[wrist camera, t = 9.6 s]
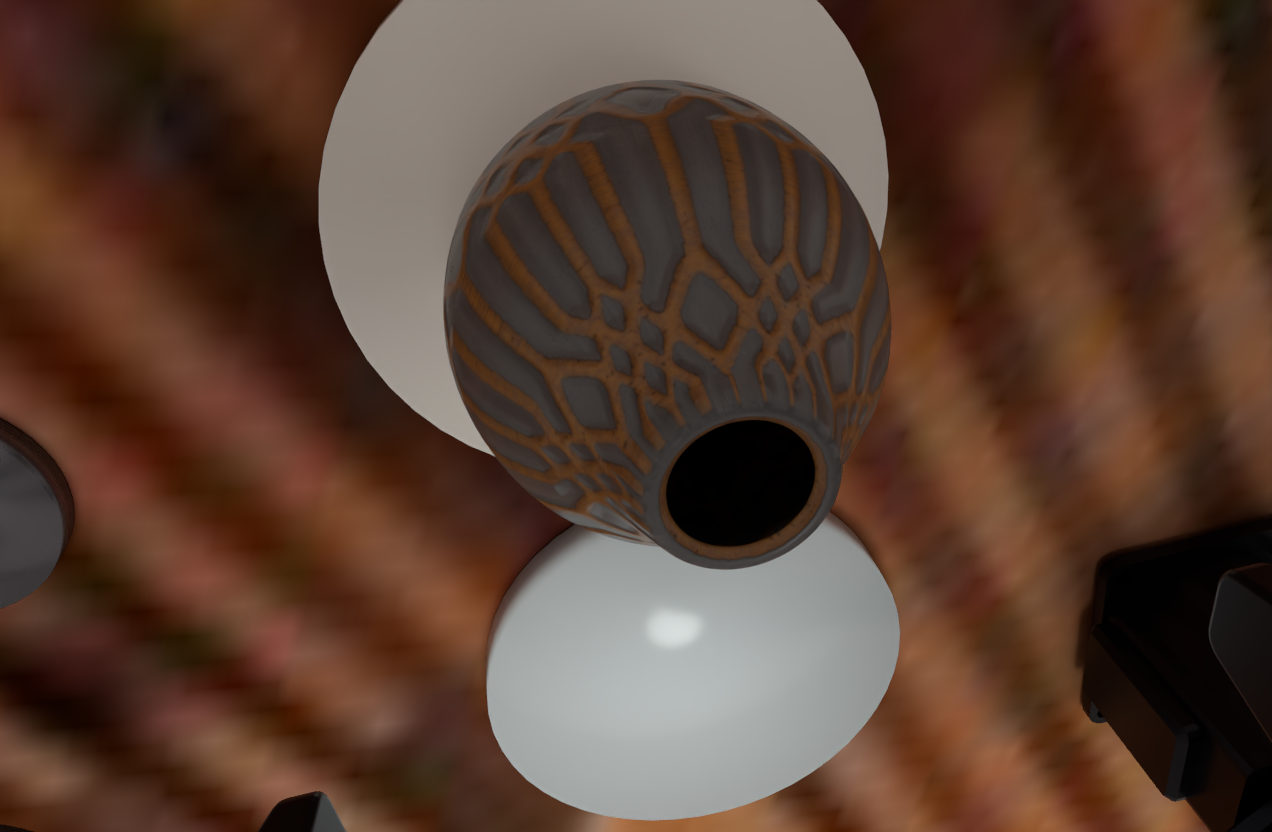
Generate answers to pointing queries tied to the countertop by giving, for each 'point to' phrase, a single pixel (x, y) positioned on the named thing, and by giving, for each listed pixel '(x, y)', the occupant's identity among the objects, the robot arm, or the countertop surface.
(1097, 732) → the countertop surface
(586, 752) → the white round plate
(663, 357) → the vase
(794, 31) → the dish low
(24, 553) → the balance
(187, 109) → the countertop surface
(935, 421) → the countertop surface
